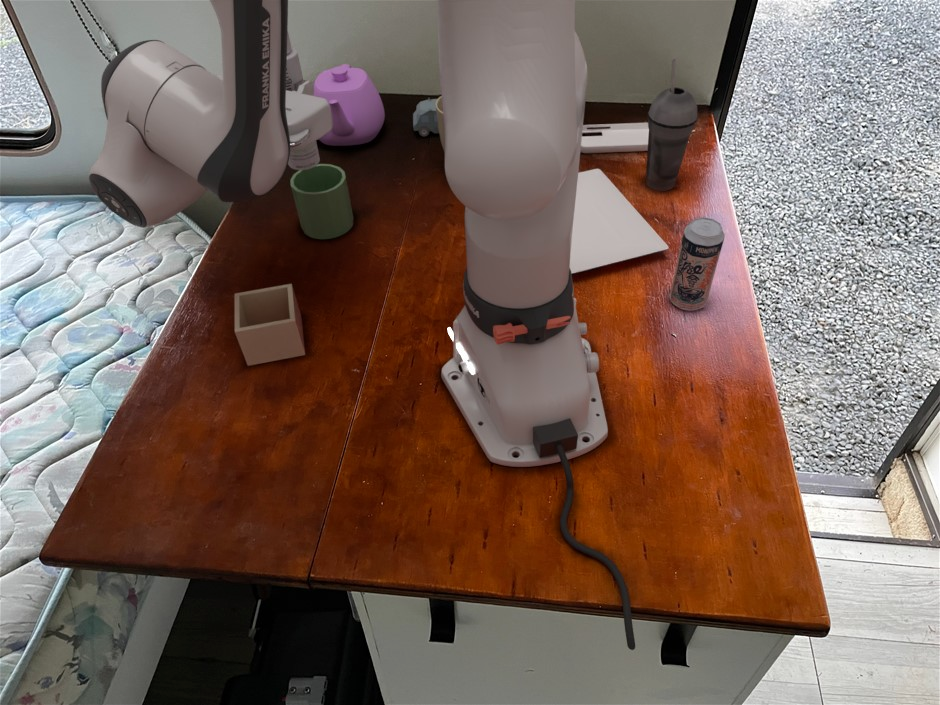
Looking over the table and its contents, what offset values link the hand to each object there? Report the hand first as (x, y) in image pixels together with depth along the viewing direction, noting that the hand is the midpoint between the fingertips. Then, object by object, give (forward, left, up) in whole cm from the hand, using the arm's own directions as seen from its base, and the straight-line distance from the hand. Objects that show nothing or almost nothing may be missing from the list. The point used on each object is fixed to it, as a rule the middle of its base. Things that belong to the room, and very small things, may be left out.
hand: (290, 81), depth 90 cm
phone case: (+13, -53, -24) cm, 59 cm away
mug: (+12, -26, -24) cm, 37 cm away
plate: (-9, -35, -24) cm, 43 cm away
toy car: (+27, -24, -24) cm, 43 cm away
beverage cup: (-1, -54, -24) cm, 59 cm away
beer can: (-28, -46, -24) cm, 59 cm away
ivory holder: (-21, +8, -24) cm, 33 cm away
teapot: (+28, -7, -24) cm, 38 cm away
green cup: (+3, -1, -24) cm, 24 cm away
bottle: (-1, +1, -11) cm, 11 cm away
